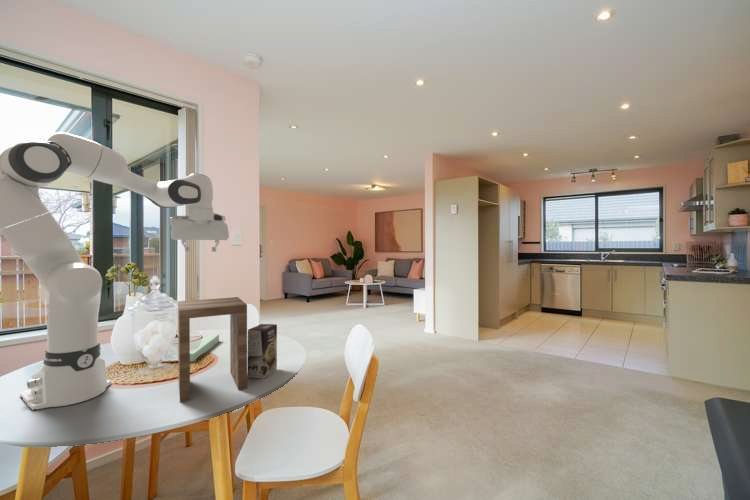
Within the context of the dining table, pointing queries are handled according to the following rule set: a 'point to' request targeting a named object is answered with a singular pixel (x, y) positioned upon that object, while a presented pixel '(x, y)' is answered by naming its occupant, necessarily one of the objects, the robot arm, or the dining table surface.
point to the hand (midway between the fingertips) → (200, 251)
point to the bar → (204, 346)
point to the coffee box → (262, 350)
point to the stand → (237, 337)
